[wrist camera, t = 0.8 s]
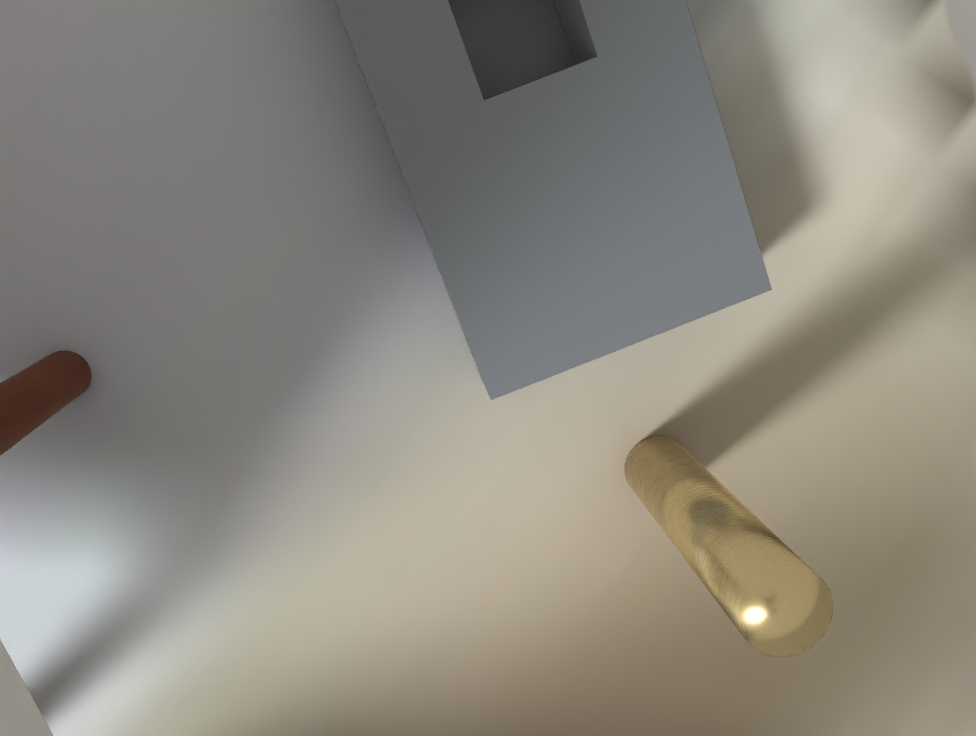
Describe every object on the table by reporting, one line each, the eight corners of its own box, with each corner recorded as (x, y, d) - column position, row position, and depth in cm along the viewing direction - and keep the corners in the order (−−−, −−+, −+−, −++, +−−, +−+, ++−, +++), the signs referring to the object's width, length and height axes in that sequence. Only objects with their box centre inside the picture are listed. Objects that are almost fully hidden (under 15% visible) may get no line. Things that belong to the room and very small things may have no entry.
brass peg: (697, 484, 42) (843, 635, 29) (636, 508, 42) (755, 670, 29) (677, 426, 42) (818, 553, 28) (615, 450, 42) (727, 589, 28)
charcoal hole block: (734, 277, 41) (771, 289, 37) (480, 376, 40) (491, 400, 36) (587, -203, 36) (612, -247, 32) (298, -93, 35) (287, -125, 32)
